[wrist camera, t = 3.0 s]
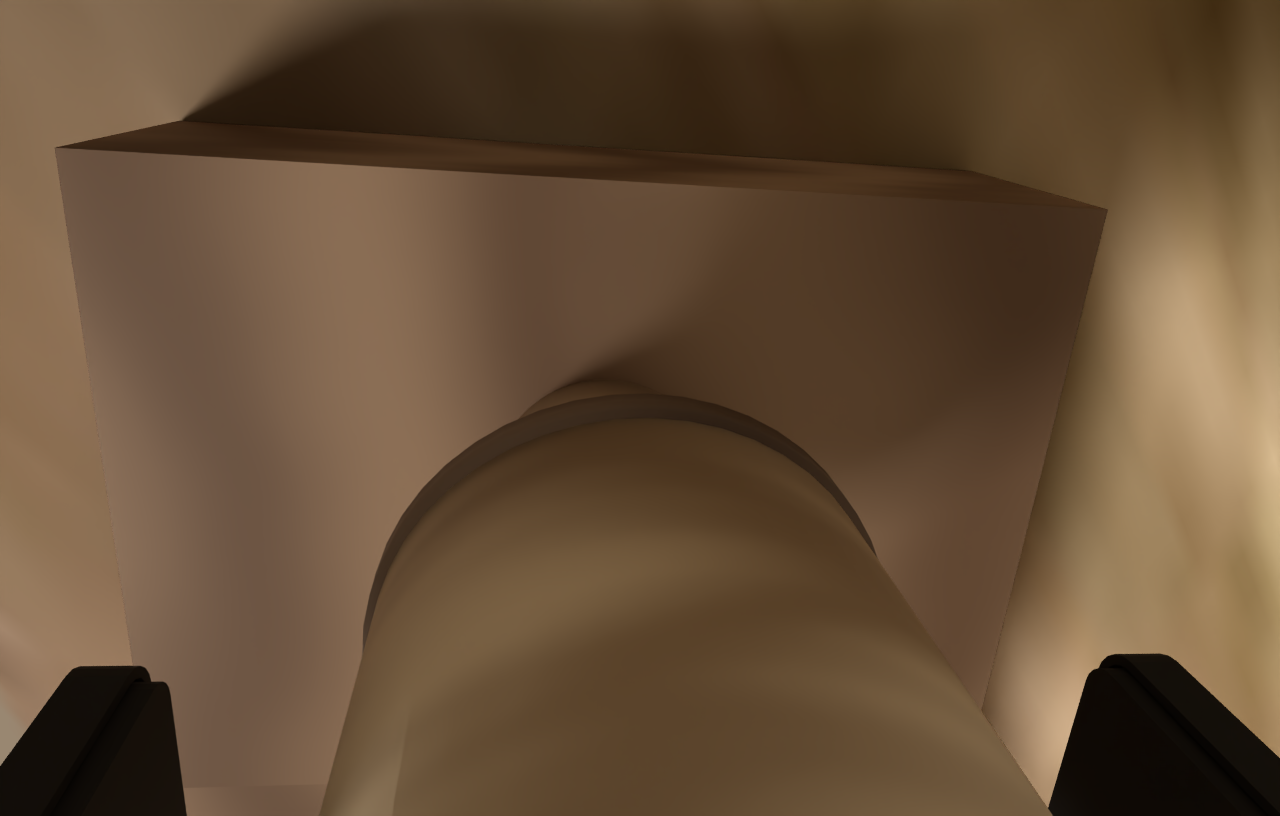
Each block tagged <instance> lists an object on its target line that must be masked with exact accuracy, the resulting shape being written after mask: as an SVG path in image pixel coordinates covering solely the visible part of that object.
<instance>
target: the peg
mask: <svg viewBox="0 0 1280 816" xmlns="http://www.w3.org/2000/svg"><path fill="white" fill-rule="evenodd" d="M319 816H1053V815H1052V814H1051V812H1050V811H1049V809H1048V808H1047V806H1046V805H1045V803H1044V802H1043V801H1042V799H1041V798H1040V796H1039V795H1038V793H1037V792H1036V790H1035V789H1034V787H1033V786H1032V784H1031V783H1030V781H1029V780H1028V779H1027V777H1026V776H1025V774H1024V773H1023V771H1022V770H1021V768H1020V767H1019V765H1018V764H1017V762H1016V761H1015V759H1014V758H1013V757H1012V755H1011V754H1010V752H1009V751H1008V749H1007V748H1006V746H1005V745H1004V743H1003V742H1002V740H1001V739H1000V737H999V736H998V735H997V733H996V732H995V730H994V729H993V727H992V726H991V724H990V723H989V721H988V720H987V718H986V717H985V716H984V714H983V713H982V711H981V710H980V708H979V707H978V705H977V704H976V702H975V701H974V699H973V698H972V696H971V695H970V694H969V692H968V691H967V689H966V688H965V686H964V685H963V683H962V682H961V680H960V679H959V677H958V676H957V674H956V673H955V672H954V670H953V669H952V667H951V666H950V664H949V663H948V661H947V660H946V658H945V657H944V655H943V654H942V653H941V651H940V650H939V648H938V647H937V645H936V644H935V642H934V641H933V639H932V638H931V636H930V635H929V633H928V632H927V631H926V629H925V628H924V626H923V625H922V623H921V622H920V620H919V619H918V617H917V616H916V614H915V613H914V611H913V610H912V609H911V607H910V606H909V604H908V603H907V601H906V600H905V598H904V597H903V595H902V594H901V592H900V591H899V590H898V588H897V587H896V585H895V584H894V582H893V581H892V579H891V578H890V576H889V575H888V573H887V572H886V570H885V569H884V568H883V566H882V565H881V563H880V562H879V560H878V558H877V555H876V552H875V549H874V547H873V544H872V541H871V539H870V537H869V535H868V533H867V531H866V529H865V527H864V526H863V524H862V522H861V520H860V518H859V516H858V515H857V513H856V511H855V510H854V509H853V507H852V506H851V504H850V503H849V502H848V500H847V499H846V497H845V496H844V494H843V493H842V492H841V490H840V489H839V488H838V487H837V485H836V484H835V483H834V481H833V480H832V479H831V477H830V476H829V475H828V473H827V472H826V471H825V470H824V469H823V468H822V467H821V466H820V465H819V464H818V463H817V462H816V461H815V460H814V459H813V458H812V457H811V456H810V455H809V454H808V453H807V452H806V451H805V450H804V449H802V448H801V447H799V446H798V445H797V444H795V443H794V442H792V441H791V440H790V439H788V438H787V437H785V436H784V435H783V434H781V433H780V432H779V431H777V430H775V429H773V428H771V427H769V426H767V425H765V424H764V423H762V422H760V421H758V420H756V419H754V418H752V417H750V416H748V415H745V414H743V413H740V412H737V411H734V410H732V409H729V408H726V407H723V406H720V405H718V404H714V403H709V402H705V401H700V400H696V399H691V398H687V397H681V396H670V395H661V394H659V393H657V392H655V391H653V390H651V389H649V388H646V387H643V386H641V385H638V384H634V383H630V382H625V381H618V380H591V381H585V382H579V383H575V384H572V385H568V386H565V387H563V388H561V389H558V390H556V391H554V392H552V393H550V394H548V395H546V396H545V397H543V398H541V399H540V400H539V401H537V402H536V403H535V404H533V405H532V406H531V407H529V408H528V409H527V410H526V411H525V412H524V413H523V414H522V415H521V416H520V417H519V419H518V420H515V421H513V422H510V423H508V424H506V425H504V426H502V427H500V428H499V429H497V430H495V431H494V432H492V433H490V434H488V435H487V436H485V437H483V438H482V439H480V440H478V441H476V442H475V443H473V444H472V445H471V446H469V447H468V448H467V449H465V450H464V451H463V452H461V453H460V454H459V455H458V456H456V457H455V458H454V459H452V460H451V461H450V462H448V463H447V464H446V465H445V466H444V467H443V468H442V469H441V470H440V471H439V472H438V473H437V474H436V475H435V476H434V477H433V478H432V479H431V480H430V481H429V482H428V483H427V484H426V485H425V486H424V487H423V488H422V489H421V491H420V492H419V493H418V495H417V496H416V497H415V499H414V500H413V501H412V502H411V504H410V505H409V506H408V508H407V509H406V510H405V512H404V513H403V514H402V516H401V518H400V520H399V522H398V523H397V525H396V527H395V529H394V531H393V533H392V534H391V536H390V538H389V540H388V542H387V544H386V546H385V549H384V552H383V555H382V557H381V560H380V563H379V565H378V568H377V571H376V574H375V577H374V581H373V584H372V588H371V591H370V595H369V600H368V605H367V610H366V615H365V620H364V625H363V648H362V659H361V662H360V666H359V670H358V674H357V677H356V681H355V685H354V688H353V692H352V696H351V699H350V703H349V707H348V711H347V714H346V718H345V722H344V725H343V729H342V733H341V737H340V740H339V744H338V748H337V751H336V755H335V759H334V762H333V766H332V770H331V774H330V777H329V781H328V785H327V788H326V792H325V796H324V799H323V803H322V807H321V811H320V814H319Z"/></svg>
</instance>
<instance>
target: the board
mask: <svg viewBox="0 0 1280 816" xmlns="http://www.w3.org/2000/svg"><path fill="white" fill-rule="evenodd" d="M55 153H56V159H57V166H58V173H59V179H60V186H61V192H62V199H63V206H64V212H65V219H66V226H67V232H68V239H69V245H70V252H71V259H72V265H73V272H74V279H75V285H76V292H77V298H78V305H79V312H80V318H81V325H82V332H83V338H84V345H85V351H86V358H87V365H88V371H89V378H90V385H91V391H92V398H93V404H94V411H95V418H96V424H97V431H98V437H99V444H100V451H101V457H102V464H103V471H104V477H105V484H106V490H107V497H108V504H109V510H110V517H111V524H112V530H113V537H114V543H115V550H116V557H117V563H118V570H119V577H120V583H121V590H122V596H123V603H124V610H125V616H126V623H127V630H128V636H129V643H130V649H131V656H132V663H133V666H143V667H145V668H146V669H147V671H148V672H149V674H150V678H151V682H156V681H163V682H165V683H167V685H168V687H169V690H170V694H171V701H172V708H173V716H174V723H175V730H176V738H177V745H178V753H179V760H180V768H181V775H182V783H183V790H184V798H185V805H186V812H187V816H319V814H320V811H321V807H322V803H323V799H324V796H325V792H326V788H327V785H328V781H329V777H330V774H331V770H332V766H333V762H334V759H335V755H336V751H337V748H338V744H339V740H340V737H341V733H342V729H343V725H344V722H345V718H346V714H347V711H348V707H349V703H350V699H351V696H352V692H353V688H354V685H355V681H356V677H357V674H358V670H359V666H360V662H361V659H362V648H363V625H364V620H365V615H366V610H367V605H368V600H369V595H370V591H371V588H372V584H373V581H374V577H375V574H376V571H377V568H378V565H379V563H380V560H381V557H382V555H383V552H384V549H385V546H386V544H387V542H388V540H389V538H390V536H391V534H392V533H393V531H394V529H395V527H396V525H397V523H398V522H399V520H400V518H401V516H402V514H403V513H404V512H405V510H406V509H407V508H408V506H409V505H410V504H411V502H412V501H413V500H414V499H415V497H416V496H417V495H418V493H419V492H420V491H421V489H422V488H423V487H424V486H425V485H426V484H427V483H428V482H429V481H430V480H431V479H432V478H433V477H434V476H435V475H436V474H437V473H438V472H439V471H440V470H441V469H442V468H443V467H444V466H445V465H446V464H447V463H448V462H450V461H451V460H452V459H454V458H455V457H456V456H458V455H459V454H460V453H461V452H463V451H464V450H465V449H467V448H468V447H469V446H471V445H472V444H473V443H475V442H476V441H478V440H480V439H482V438H483V437H485V436H487V435H488V434H490V433H492V432H494V431H495V430H497V429H499V428H500V427H502V426H504V425H506V424H508V423H510V422H513V421H515V420H518V419H519V417H520V416H521V415H522V414H523V413H524V412H525V411H526V410H527V409H528V408H529V407H531V406H532V405H533V404H535V403H536V402H537V401H539V400H540V399H541V398H543V397H545V396H546V395H548V394H550V393H552V392H554V391H556V390H558V389H561V388H563V387H565V386H568V385H572V384H575V383H579V382H585V381H591V380H618V381H625V382H630V383H634V384H638V385H641V386H643V387H646V388H649V389H651V390H653V391H655V392H657V393H659V394H661V395H670V396H681V397H687V398H691V399H696V400H700V401H705V402H709V403H714V404H718V405H720V406H723V407H726V408H729V409H732V410H734V411H737V412H740V413H743V414H745V415H748V416H750V417H752V418H754V419H756V420H758V421H760V422H762V423H764V424H765V425H767V426H769V427H771V428H773V429H775V430H777V431H779V432H780V433H781V434H783V435H784V436H785V437H787V438H788V439H790V440H791V441H792V442H794V443H795V444H797V445H798V446H799V447H801V448H802V449H804V450H805V451H806V452H807V453H808V454H809V455H810V456H811V457H812V458H813V459H814V460H815V461H816V462H817V463H818V464H819V465H820V466H821V467H822V468H823V469H824V470H825V471H826V472H827V473H828V475H829V476H830V477H831V479H832V480H833V481H834V483H835V484H836V485H837V487H838V488H839V489H840V490H841V492H842V493H843V494H844V496H845V497H846V499H847V500H848V502H849V503H850V504H851V506H852V507H853V509H854V510H855V511H856V513H857V515H858V516H859V518H860V520H861V522H862V524H863V526H864V527H865V529H866V531H867V533H868V535H869V537H870V539H871V541H872V544H873V547H874V549H875V552H876V555H877V558H878V560H879V562H880V563H881V565H882V566H883V568H884V569H885V570H886V572H887V573H888V575H889V576H890V578H891V579H892V581H893V582H894V584H895V585H896V587H897V588H898V590H899V591H900V592H901V594H902V595H903V597H904V598H905V600H906V601H907V603H908V604H909V606H910V607H911V609H912V610H913V611H914V613H915V614H916V616H917V617H918V619H919V620H920V622H921V623H922V625H923V626H924V628H925V629H926V631H927V632H928V633H929V635H930V636H931V638H932V639H933V641H934V642H935V644H936V645H937V647H938V648H939V650H940V651H941V653H942V654H943V655H944V657H945V658H946V660H947V661H948V663H949V664H950V666H951V667H952V669H953V670H954V672H955V673H956V674H957V676H958V677H959V679H960V680H961V682H962V683H963V685H964V686H965V688H966V689H967V691H968V692H969V694H970V695H971V696H972V698H973V699H974V701H975V702H976V704H977V705H978V707H979V708H980V710H982V706H983V703H984V699H985V695H986V691H987V687H988V683H989V679H990V675H991V671H992V667H993V663H994V659H995V655H996V651H997V647H998V643H999V639H1000V635H1001V631H1002V627H1003V623H1004V619H1005V615H1006V611H1007V607H1008V603H1009V599H1010V595H1011V591H1012V587H1013V583H1014V580H1015V576H1016V572H1017V568H1018V564H1019V560H1020V556H1021V552H1022V548H1023V544H1024V540H1025V536H1026V532H1027V528H1028V524H1029V520H1030V516H1031V512H1032V508H1033V504H1034V500H1035V496H1036V492H1037V488H1038V484H1039V480H1040V476H1041V472H1042V468H1043V464H1044V461H1045V457H1046V453H1047V449H1048V445H1049V441H1050V437H1051V433H1052V429H1053V425H1054V421H1055V417H1056V413H1057V409H1058V405H1059V401H1060V397H1061V393H1062V389H1063V385H1064V381H1065V377H1066V373H1067V369H1068V365H1069V361H1070V357H1071V353H1072V349H1073V345H1074V342H1075V338H1076V334H1077V330H1078V326H1079V322H1080V318H1081V314H1082V310H1083V306H1084V302H1085V298H1086V294H1087V290H1088V286H1089V282H1090V278H1091V274H1092V270H1093V266H1094V262H1095V258H1096V254H1097V250H1098V246H1099V242H1100V238H1101V234H1102V230H1103V226H1104V223H1105V219H1106V215H1107V211H1108V210H1107V209H1103V208H1100V207H1096V206H1093V205H1089V204H1086V203H1082V202H1079V201H1075V200H1072V199H1068V198H1065V197H1061V196H1057V195H1054V194H1050V193H1047V192H1043V191H1040V190H1036V189H1033V188H1029V187H1026V186H1022V185H1019V184H1015V183H1011V182H1008V181H1004V180H1001V179H997V178H994V177H990V176H987V175H983V174H980V173H976V172H973V171H962V170H946V169H930V168H915V167H899V166H883V165H868V164H852V163H836V162H820V161H805V160H789V159H773V158H757V157H742V156H726V155H710V154H694V153H679V152H663V151H647V150H631V149H616V148H600V147H584V146H568V145H553V144H537V143H521V142H505V141H490V140H474V139H458V138H442V137H427V136H411V135H395V134H379V133H364V132H348V131H332V130H316V129H301V128H285V127H269V126H253V125H238V124H222V123H206V122H190V121H176V122H171V123H167V124H162V125H158V126H153V127H148V128H144V129H139V130H134V131H130V132H125V133H121V134H116V135H111V136H107V137H102V138H97V139H93V140H88V141H84V142H79V143H74V144H70V145H65V146H60V147H56V148H55Z"/></svg>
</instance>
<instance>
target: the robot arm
mask: <svg viewBox="0 0 1280 816" xmlns="http://www.w3.org/2000/svg"><path fill="white" fill-rule="evenodd" d="M1048 809H1049V811H1050V812H1051V814H1052V815H1053V816H1280V758H1279V757H1278V756H1277V755H1276V754H1275V753H1274V752H1273V751H1272V750H1270V749H1269V748H1268V747H1267V746H1266V745H1265V744H1264V743H1263V742H1262V741H1261V740H1260V739H1259V738H1258V737H1257V736H1256V735H1255V734H1253V733H1252V732H1251V731H1250V730H1249V729H1248V728H1247V727H1246V726H1245V725H1244V724H1243V723H1242V722H1241V721H1240V720H1239V719H1238V718H1236V717H1235V716H1234V715H1233V714H1232V713H1231V712H1230V711H1229V710H1228V709H1227V708H1226V707H1225V706H1224V705H1223V704H1222V703H1221V702H1219V701H1218V700H1217V699H1216V698H1215V697H1214V696H1213V695H1212V694H1211V693H1210V692H1209V691H1208V690H1207V689H1206V688H1205V687H1204V686H1202V685H1201V684H1200V683H1199V682H1198V681H1197V680H1196V679H1195V678H1194V677H1193V676H1192V675H1191V674H1190V673H1189V672H1188V671H1187V670H1186V669H1184V668H1183V667H1182V666H1181V665H1180V664H1179V663H1178V662H1177V661H1176V660H1174V659H1173V658H1171V657H1170V656H1168V655H1163V654H1114V655H1110V656H1107V657H1106V658H1105V659H1104V660H1103V661H1102V662H1101V664H1100V666H1099V668H1098V669H1094V670H1093V671H1091V672H1090V673H1089V675H1088V677H1087V679H1086V682H1085V686H1084V689H1083V692H1082V696H1081V699H1080V702H1079V706H1078V709H1077V713H1076V716H1075V719H1074V723H1073V726H1072V729H1071V733H1070V736H1069V740H1068V743H1067V746H1066V750H1065V753H1064V756H1063V760H1062V763H1061V767H1060V770H1059V773H1058V777H1057V780H1056V783H1055V787H1054V790H1053V793H1052V797H1051V800H1050V804H1049V807H1048ZM0 816H187V812H186V805H185V798H184V790H183V783H182V775H181V768H180V760H179V753H178V745H177V738H176V730H175V723H174V716H173V708H172V701H171V694H170V690H169V687H168V685H167V683H165V682H163V681H156V682H151V678H150V674H149V672H148V671H147V669H146V668H145V667H143V666H79V667H77V668H74V669H72V670H71V671H70V672H69V674H68V675H67V676H66V677H65V678H64V679H63V681H62V682H61V684H60V685H59V686H58V688H57V689H56V690H55V692H54V693H53V695H52V696H51V697H50V699H49V700H48V701H47V703H46V704H45V706H44V707H43V708H42V710H41V711H40V712H39V714H38V715H37V717H36V718H35V719H34V721H33V722H32V723H31V725H30V726H29V727H28V729H27V730H26V732H25V733H24V734H23V736H22V737H21V738H20V740H19V741H18V743H17V744H16V745H15V747H14V748H13V750H12V751H11V752H10V754H9V755H8V756H7V758H6V759H5V761H4V762H3V763H2V765H1V766H0Z"/></svg>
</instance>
